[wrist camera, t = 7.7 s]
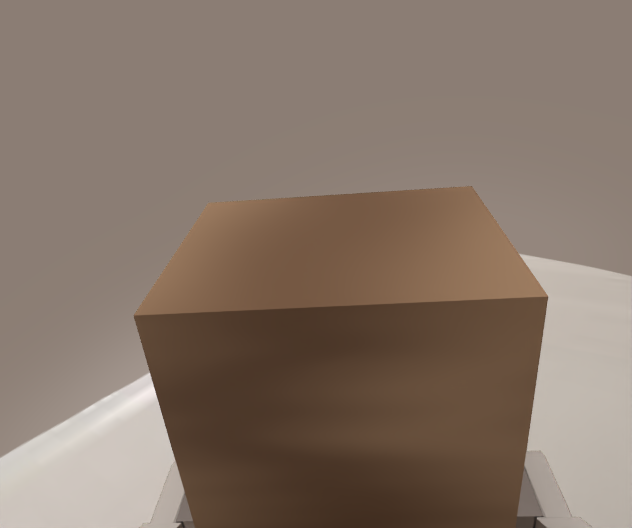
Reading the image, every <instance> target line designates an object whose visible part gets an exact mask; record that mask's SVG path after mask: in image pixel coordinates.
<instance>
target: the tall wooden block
mask: <svg viewBox="0 0 632 528" xmlns="http://www.w3.org/2000/svg"><path fill="white" fill-rule="evenodd" d="M547 301H548V295H547V294H546V293H545V291H544V290H543V288H542V287H541V285H540V284H539V282H538V281H537V280H536V278H535V277H534V275H533V274H532V272H531V271H530V270H529V268H528V267H527V265H526V264H525V262H524V261H523V259H522V258H521V257H520V255H519V254H518V252H517V251H516V249H515V248H514V247H513V245H512V244H511V242H510V241H509V239H508V238H507V236H506V235H505V234H504V232H503V231H502V229H501V228H500V226H499V225H498V223H497V222H496V220H495V219H494V218H493V216H492V215H491V213H490V212H489V210H488V209H487V207H486V206H485V205H484V203H483V202H482V200H481V199H480V197H479V196H478V194H477V193H476V192H475V190H474V189H473V187H472V186H467V187H453V188H452V187H451V188H437V189H436V188H435V189H420V190H404V191H389V192H374V193H373V192H372V193H357V194H343V195H342V194H341V195H326V196H309V197H294V198H279V199H262V200H247V201H232V202H231V201H230V202H215V203H208V204H207V206H206V207H205V209H204V211H203V212H202V214H201V215H200V217H199V218H198V220H197V221H196V223H195V224H194V226H193V227H192V229H191V230H190V232H189V233H188V235H187V236H186V238H185V239H184V241H183V242H182V244H181V245H180V247H179V248H178V250H177V251H176V253H175V254H174V256H173V257H172V259H171V260H170V262H169V263H168V265H167V266H166V268H165V269H164V271H163V272H162V274H161V275H160V277H159V278H158V280H157V281H156V283H155V284H154V286H153V287H152V289H151V290H150V292H149V293H148V295H147V296H146V298H145V300H144V301H143V302H142V304H141V305H140V307H139V308H138V310H137V311H136V313H135V314H134V319H135V321H136V325H137V329H138V332H139V336H140V339H141V343H142V346H143V350H144V353H145V356H146V360H147V363H148V367H149V370H150V374H151V377H152V381H153V384H154V388H155V391H156V395H157V398H158V402H159V405H160V409H161V412H162V415H163V419H164V422H165V426H166V429H167V433H168V436H169V440H170V443H171V447H172V450H173V454H174V457H175V460H176V464H177V467H178V471H179V474H180V478H181V481H182V485H183V488H184V492H185V495H186V498H187V502H188V505H189V509H190V512H191V516H192V519H193V523H194V526H195V528H516V521H517V514H518V507H519V499H520V492H521V485H522V478H523V471H524V464H525V457H526V450H527V443H528V436H529V429H530V422H531V414H532V407H533V400H534V393H535V386H536V379H537V372H538V365H539V358H540V351H541V344H542V337H543V329H544V322H545V315H546V308H547Z"/></svg>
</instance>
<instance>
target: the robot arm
mask: <svg viewBox="0 0 632 528" xmlns="http://www.w3.org/2000/svg"><path fill="white" fill-rule="evenodd" d="M139 528H195V526H194V523H193V519H192V516H191V512H190V509H189V505H188V502H187V498H186V495H185V492H184V488H183V485H182V481H181V478H180V474H179V471H178V467H177V464H176V461H175V462H174V463H173V464H172V466H171V468H170V471H169V474H168V476H167V479H166V482H165V484H164V487H163V490H162V492H161V495H160V498H159V500H158V503H157V506H156V509H155V511H154V514H153V517H152V519H151V522H150V523H143V524H142V525H141V526H140V527H139ZM516 528H593V527H591V526H590V525H589V524H588V523H587V522H585V521H584V520H583V519H582V518H580V517H572V515H571V513H570V510H569V508H568V506H567V504H566V502H565V499H564V497H563V495H562V493H561V490H560V488H559V486H558V484H557V482H556V479H555V477H554V475H553V473H552V470H551V468H550V466H549V464H548V462H547V459H546V457H545V455H544V454H543V453H542V452H541V451H526V457H525V464H524V471H523V478H522V485H521V492H520V499H519V507H518V514H517V521H516Z"/></svg>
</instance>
